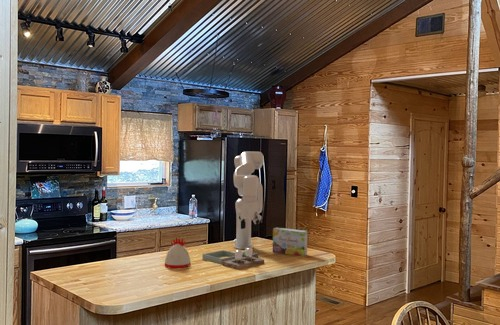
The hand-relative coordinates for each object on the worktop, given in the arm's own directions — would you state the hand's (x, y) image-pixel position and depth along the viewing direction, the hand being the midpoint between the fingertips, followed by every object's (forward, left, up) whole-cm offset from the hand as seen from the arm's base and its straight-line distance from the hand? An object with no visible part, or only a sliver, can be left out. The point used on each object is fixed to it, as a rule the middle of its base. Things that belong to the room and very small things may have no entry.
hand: (249, 229), depth 267 cm
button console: (-11, +10, -19) cm, 24 cm away
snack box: (-3, +39, -20) cm, 44 cm away
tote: (-17, -4, -19) cm, 26 cm away
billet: (0, 0, -18) cm, 18 cm away
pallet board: (0, -4, -19) cm, 20 cm away
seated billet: (0, -8, -18) cm, 20 cm away
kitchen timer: (-26, -29, -20) cm, 44 cm away
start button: (-11, +10, -19) cm, 24 cm away
